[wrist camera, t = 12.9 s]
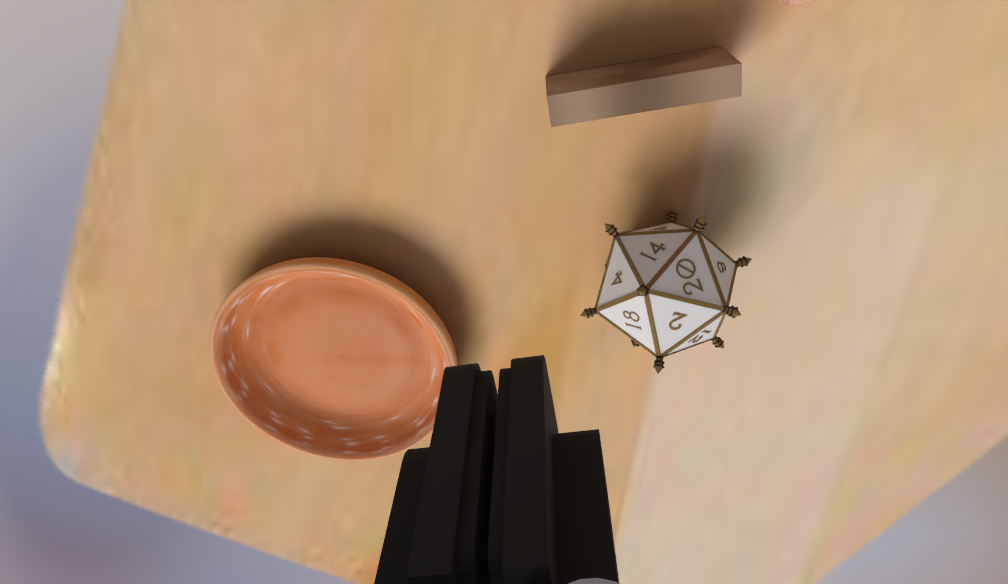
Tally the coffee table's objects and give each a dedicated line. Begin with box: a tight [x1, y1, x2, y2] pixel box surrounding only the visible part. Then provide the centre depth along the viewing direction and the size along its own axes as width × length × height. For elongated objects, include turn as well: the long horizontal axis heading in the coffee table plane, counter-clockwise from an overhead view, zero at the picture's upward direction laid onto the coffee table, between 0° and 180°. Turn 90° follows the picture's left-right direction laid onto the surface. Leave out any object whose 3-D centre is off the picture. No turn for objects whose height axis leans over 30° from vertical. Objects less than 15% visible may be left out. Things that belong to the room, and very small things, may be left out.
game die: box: [580, 210, 751, 373], centre depth 36 cm, size 9×8×10 cm
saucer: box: [210, 257, 458, 461], centre depth 43 cm, size 16×16×3 cm
